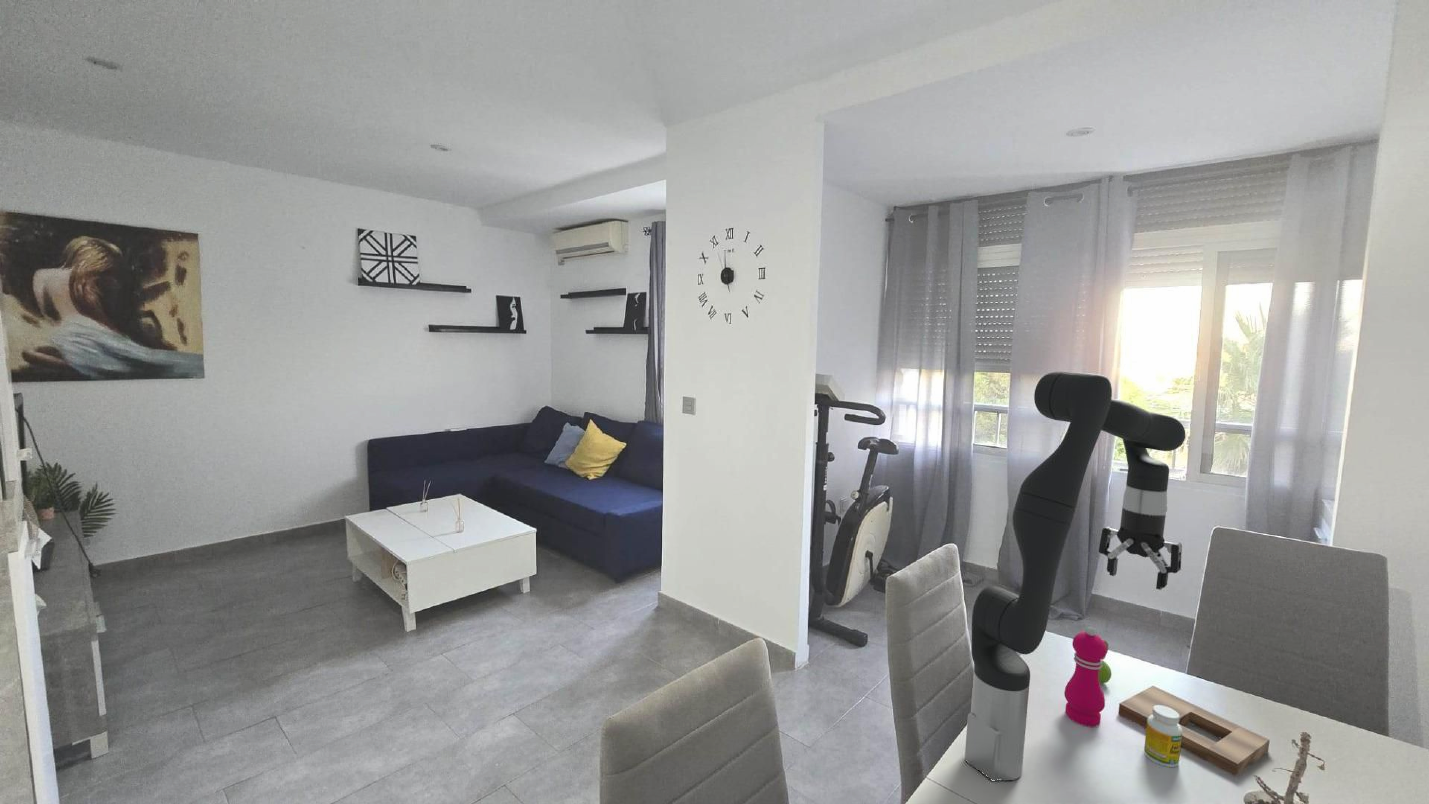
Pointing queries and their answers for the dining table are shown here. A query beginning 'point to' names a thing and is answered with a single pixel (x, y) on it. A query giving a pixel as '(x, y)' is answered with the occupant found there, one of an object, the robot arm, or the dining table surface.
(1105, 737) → the dining table surface
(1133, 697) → the collar plate
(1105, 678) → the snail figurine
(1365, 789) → the dining table surface
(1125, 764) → the dining table surface
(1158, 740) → the supplement bottle
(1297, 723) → the dining table surface
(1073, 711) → the pepper mill
